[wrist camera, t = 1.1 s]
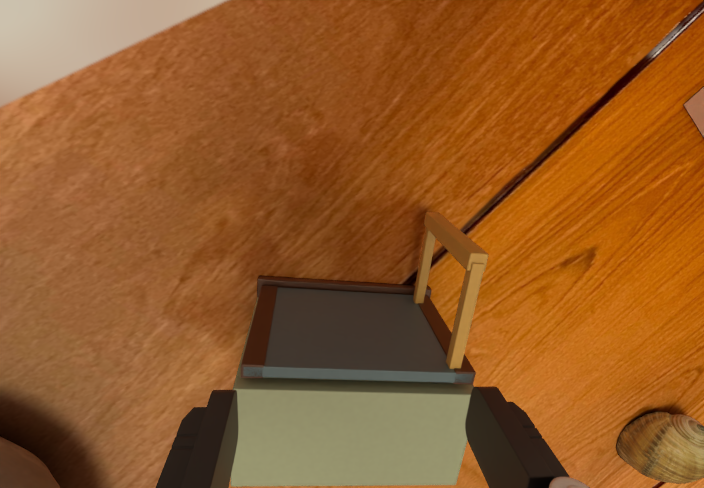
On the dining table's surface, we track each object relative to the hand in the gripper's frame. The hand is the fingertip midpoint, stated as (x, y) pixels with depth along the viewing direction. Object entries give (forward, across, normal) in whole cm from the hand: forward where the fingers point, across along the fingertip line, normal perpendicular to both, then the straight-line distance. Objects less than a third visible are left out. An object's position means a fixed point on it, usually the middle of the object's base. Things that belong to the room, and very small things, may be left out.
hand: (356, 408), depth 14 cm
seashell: (+23, -40, +26) cm, 52 cm away
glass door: (+22, -2, +3) cm, 22 cm away
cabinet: (+23, -2, +12) cm, 26 cm away
